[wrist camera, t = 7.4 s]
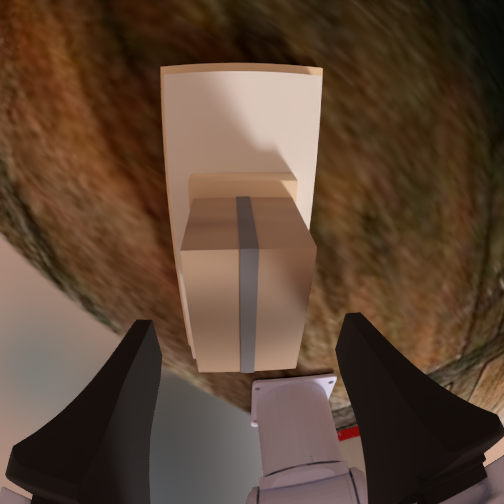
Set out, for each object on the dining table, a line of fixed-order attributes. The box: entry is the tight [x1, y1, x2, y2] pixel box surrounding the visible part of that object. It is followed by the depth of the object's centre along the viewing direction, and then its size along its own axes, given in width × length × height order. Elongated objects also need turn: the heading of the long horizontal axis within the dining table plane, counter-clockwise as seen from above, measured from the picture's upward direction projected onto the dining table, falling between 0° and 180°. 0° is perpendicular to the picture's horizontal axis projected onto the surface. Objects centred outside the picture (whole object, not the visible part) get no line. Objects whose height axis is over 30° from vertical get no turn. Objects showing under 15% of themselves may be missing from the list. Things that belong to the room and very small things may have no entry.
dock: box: [161, 63, 323, 359], centre depth 17 cm, size 8×19×2 cm, turn 179°
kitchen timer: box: [337, 426, 366, 477], centre depth 33 cm, size 14×14×15 cm
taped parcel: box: [180, 172, 317, 373], centre depth 14 cm, size 8×5×6 cm, turn 179°
